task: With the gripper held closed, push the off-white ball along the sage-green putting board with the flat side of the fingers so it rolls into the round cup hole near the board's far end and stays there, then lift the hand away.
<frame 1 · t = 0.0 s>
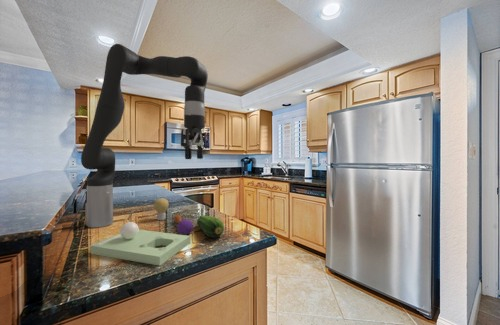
hand: (194, 158, 81), 29 cm above the worktop, tool pointing down, fingers open, 8 cm apart
putting board: (143, 247, 71), on the worktop
vegetable: (208, 232, 87), on the worktop
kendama: (181, 229, 90), on the worktop
light bulb: (161, 219, 102), on the worktop
ball: (129, 230, 72), point 5 cm above the worktop, touching putting board
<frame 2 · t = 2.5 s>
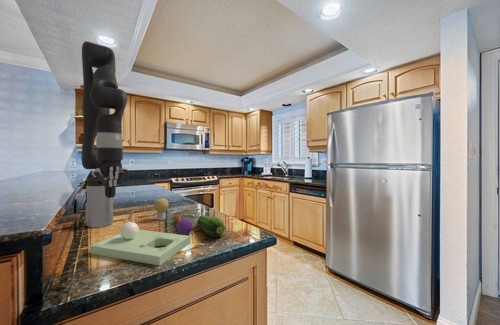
hand: (110, 197, 74), 16 cm above the worktop, tool pointing down, fingers closed
nothing on the worktop moved.
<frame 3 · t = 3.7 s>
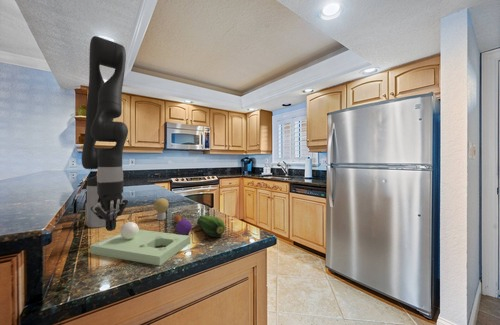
hand: (110, 230, 74), 5 cm above the worktop, tool pointing down, fingers closed
nothing on the worktop moved.
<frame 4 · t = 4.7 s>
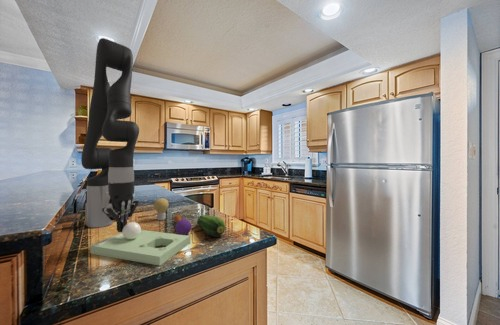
hand: (121, 231, 73), 5 cm above the worktop, tool pointing down, fingers closed
ball: (131, 230, 72), point 5 cm above the worktop, tilted 16°, touching putting board
everything else where it was.
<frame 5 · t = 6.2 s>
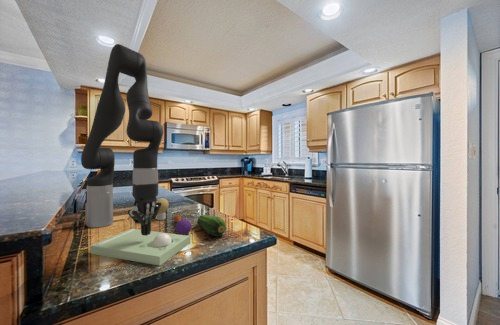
hand: (145, 234, 71), 5 cm above the worktop, tool pointing down, fingers closed
ball: (162, 242, 69), point 3 cm above the worktop, tilted 96°
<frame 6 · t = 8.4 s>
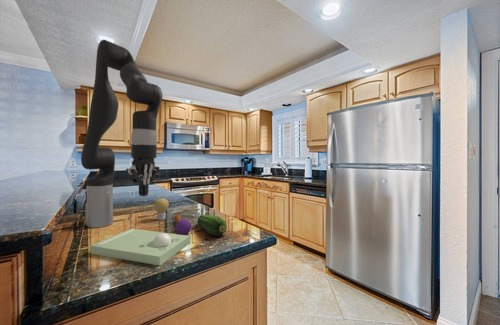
hand: (143, 195, 72), 17 cm above the worktop, tool pointing down, fingers closed
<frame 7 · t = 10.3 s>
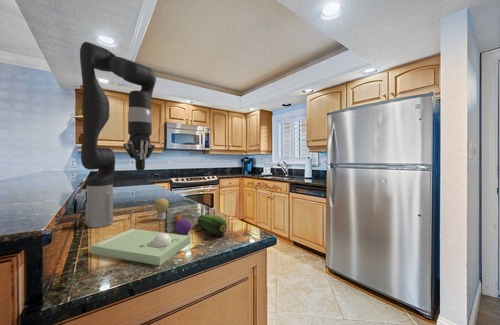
hand: (140, 170, 78), 25 cm above the worktop, tool pointing down, fingers closed
at the end: ball 0.7 cm from the target spot on the putting board, point 2.7 cm above the putting board's base; ball point 2.7 cm above the worktop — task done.
